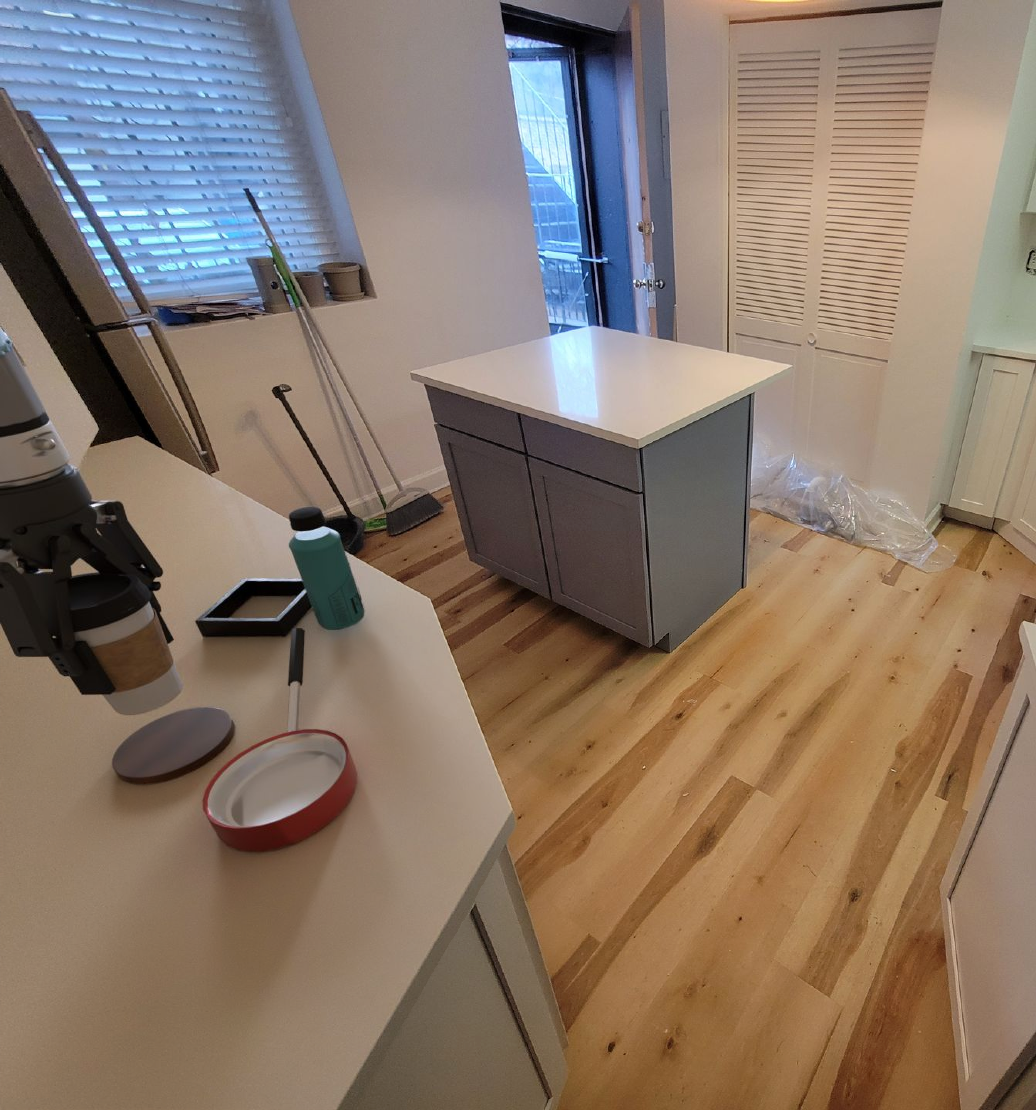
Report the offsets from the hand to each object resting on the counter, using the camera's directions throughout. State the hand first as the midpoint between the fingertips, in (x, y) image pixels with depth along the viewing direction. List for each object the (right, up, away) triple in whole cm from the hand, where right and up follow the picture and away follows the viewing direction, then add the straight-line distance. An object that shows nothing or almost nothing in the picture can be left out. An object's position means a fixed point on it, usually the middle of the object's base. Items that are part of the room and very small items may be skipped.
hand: (130, 665), depth 66 cm
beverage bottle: (+5, +1, +28) cm, 28 cm away
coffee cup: (0, -4, +2) cm, 5 cm away
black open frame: (-8, +3, +29) cm, 30 cm away
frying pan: (+12, -11, +8) cm, 18 cm away
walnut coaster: (-1, -11, +7) cm, 13 cm away
